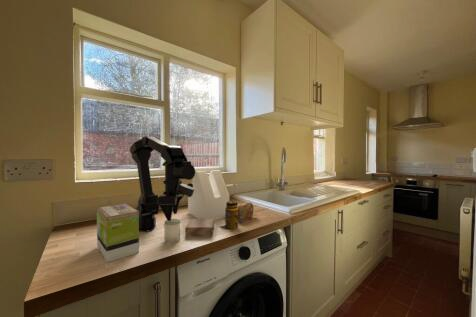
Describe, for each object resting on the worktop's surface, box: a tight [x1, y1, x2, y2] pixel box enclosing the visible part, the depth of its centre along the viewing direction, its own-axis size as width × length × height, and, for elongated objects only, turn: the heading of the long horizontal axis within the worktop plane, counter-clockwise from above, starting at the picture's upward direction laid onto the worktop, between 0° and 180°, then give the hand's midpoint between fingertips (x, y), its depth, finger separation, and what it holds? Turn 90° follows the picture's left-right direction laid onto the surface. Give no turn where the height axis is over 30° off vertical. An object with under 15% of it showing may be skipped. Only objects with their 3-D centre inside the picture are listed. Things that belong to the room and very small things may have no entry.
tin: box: [237, 202, 254, 223], centre depth 108 cm, size 15×3×8 cm, turn 148°
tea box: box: [96, 203, 140, 263], centre depth 72 cm, size 15×10×15 cm, turn 45°
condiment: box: [218, 200, 242, 233], centre depth 95 cm, size 7×8×12 cm
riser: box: [184, 218, 215, 238], centre depth 90 cm, size 11×11×4 cm
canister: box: [163, 218, 181, 244], centre depth 81 cm, size 6×6×8 cm
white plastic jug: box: [187, 169, 230, 220], centre depth 117 cm, size 19×15×25 cm
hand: (172, 217), depth 81 cm, fingers open, 9 cm apart
